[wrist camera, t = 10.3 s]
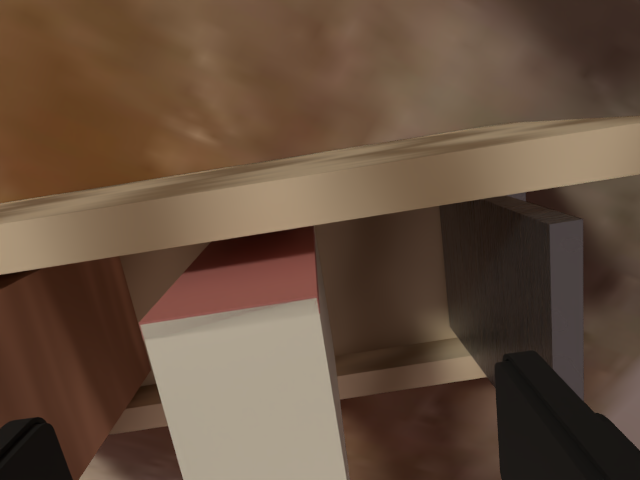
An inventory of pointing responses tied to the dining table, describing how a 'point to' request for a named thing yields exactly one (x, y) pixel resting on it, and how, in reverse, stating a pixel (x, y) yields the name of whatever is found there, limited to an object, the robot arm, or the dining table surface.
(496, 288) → the bookend
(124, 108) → the dining table surface
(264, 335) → the book
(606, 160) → the rack
